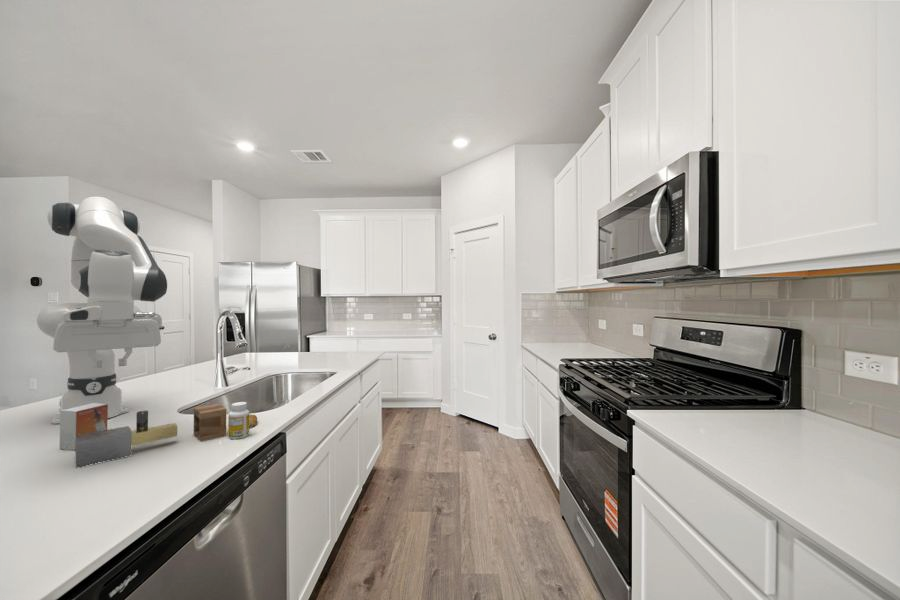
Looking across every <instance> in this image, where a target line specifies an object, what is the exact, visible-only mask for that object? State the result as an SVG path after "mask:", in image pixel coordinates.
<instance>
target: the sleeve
mask: <svg viewBox="0 0 900 600" xmlns="http://www.w3.org/2000/svg"><path fill="white" fill-rule="evenodd" d="M132 431H133V430H131V428H130V427H129V425H127V426H122V427H120V426H119V427H115V428H110V429H107V430H104V431H98V432H92V433H87V434H81V435H76V450H75V457H74V458H75V460H76V461H75V468H76V469H78V468H77V467H80V468H83V467H82V466H84V467H87V466H86V465H89V466H91V465H90V464H93V465H96V464H95V463H98V462H102V463H104V462H103V461H106V462H108V461H107V460H111V461H113V460H112V459H115V460H118V459H117V458H120V459H122V458H121V457H124V458H126V457H125V456H129V457H131V456H132V446H131V437H132ZM130 455H131V456H130ZM98 464H99V463H98Z"/></svg>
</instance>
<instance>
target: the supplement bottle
mask: <svg viewBox="0 0 900 600" xmlns="http://www.w3.org/2000/svg"><path fill="white" fill-rule="evenodd" d="M230 406H231V407H230V409H231V410H230V412H229V413H228V417H227V418H228V421H227V422H228V423H227V424H228V428H227V429H228V433H227V436H228V439H230V440H238V439H243V438H245V437H248V436H249V435H250V428H249V414H250V411H249V410H248V409H247V407H248V403H247V401H239V402H234V403H231V405H230Z"/></svg>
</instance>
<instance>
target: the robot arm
mask: <svg viewBox="0 0 900 600" xmlns="http://www.w3.org/2000/svg"><path fill="white" fill-rule="evenodd" d="M47 222H48V225H49V227H50V228H51V230H52V231H53V232H54V233H55V234H58V235H62V236H65V237H75V238H74V240H73V246H72V251H71V259H70V263H71V264H70V272H71V273H70V282H71V284H72V286H73V287H74V288H75V289H77V290H78V292H79V293H81V295H83V296H85V297H87V300H86V301H87V302H65V303H56V304H50V305H46V306H45V307H43V308H42V309H41V310H40V311H39V313H38V315H37V318H36V323H37V326H38V328H39V330H40V331H41V332H42V333H44V334H45V335H46V336H49V337H51V338H53V347H52V348H53V351H55V352H57V353H67V356H68V362H69V364H68V365H69V377H68V378H67V382H66V385H67V389H68V390H67V391H66V392H65V393H64V394H63V395H62V396H61V398H60V399H59V407H60V408H59V412H60V411H61V410H65V409H70V408H74V407H79V406H83V405H87V404H90V403H101V404H108V419H110V418H113V417H116V416H119V415H121V414H125V413H128V412H129V408H128V407H125V406H123V394H122V393H123V392H122V389H121V388H120V387H118V386H117V385H116V384H117V380H118V379H117V378H118V377H117V374H116V373H115V367H116V366H115V365H116V364H115V361H116V360H115V358H116V355H115V352H114V350H117V349H118V350H119V349H124V352H125V354H124V356H123V357H122V358H118V363H117V365H118V367H124V366H127V365H128V364H127V361H128V359H129V357H130V356H131V355H132V353H133V349H134V348H135V349H136V348H151V347H158V346H159V345H160V344H161V342H162V339H161V331H160V328H162V322H163V319H162V317H161V315H160V314H157V313H156V312H151V311H150V312H142V311H141V309H140V308H139V307H138V306H137V305H135V301H140V302H150V303H151V302H152V303H154V302H156V301H157V300H159V299H161V298H163V297H164V296H165V295H166V294H167V291H168V279H167V277H166V274H165V272H164V271H163V270H162V268H160V267H159V265H158V264H157V261H156V260H155V258H154V256H153V255H152V253H151V251H150V249H149V247H148V245H147V244H146V242H145V241H144V239H143V238H142V237H141V236H140V235H139V232H140V229H141V225H140V221H139V219H138V216H137V215H136V214H135V213H133V212H130V211H127V210H124V209H122V210H120V209H119V207H118V206H117V204H116V203H115V202H114V201H112V200H110V199H109V198H107V197H103V196H90V197H86V198H84V199H83V200H82V201H80V203H78V204H77V203H70V202H57V203H55V204H52V205H51V207H50V209H49V210H48V212H47ZM51 424H53V425H54V424H60V413H58V414H57V415H56V416H55V417H54V418H53V419H52V420H51Z"/></svg>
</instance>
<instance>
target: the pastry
mask: <svg viewBox="0 0 900 600" xmlns="http://www.w3.org/2000/svg"><path fill="white" fill-rule="evenodd" d="M257 422H258V416H257V415H256V414H250V413H249V429H251V428H253V427H255V425H257Z"/></svg>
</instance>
